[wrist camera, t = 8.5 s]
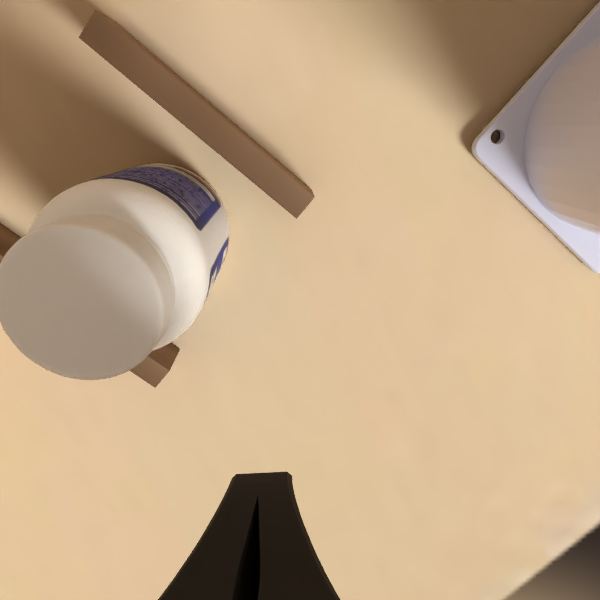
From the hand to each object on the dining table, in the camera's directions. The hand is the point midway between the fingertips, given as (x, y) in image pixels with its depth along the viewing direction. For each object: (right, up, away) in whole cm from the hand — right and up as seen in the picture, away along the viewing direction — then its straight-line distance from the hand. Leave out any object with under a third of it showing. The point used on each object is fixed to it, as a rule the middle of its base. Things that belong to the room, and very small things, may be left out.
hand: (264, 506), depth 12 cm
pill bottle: (-5, +8, +8) cm, 12 cm away
